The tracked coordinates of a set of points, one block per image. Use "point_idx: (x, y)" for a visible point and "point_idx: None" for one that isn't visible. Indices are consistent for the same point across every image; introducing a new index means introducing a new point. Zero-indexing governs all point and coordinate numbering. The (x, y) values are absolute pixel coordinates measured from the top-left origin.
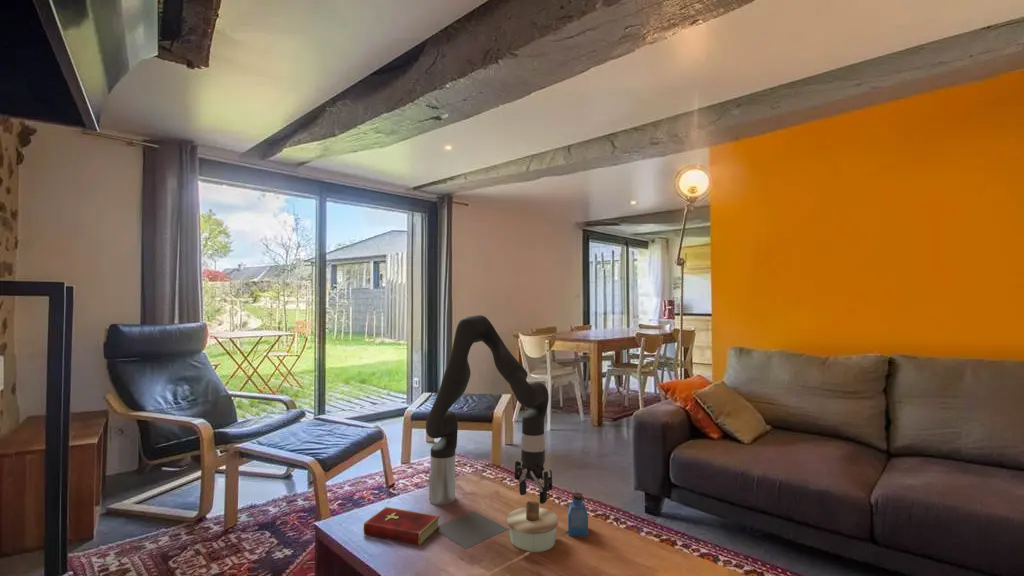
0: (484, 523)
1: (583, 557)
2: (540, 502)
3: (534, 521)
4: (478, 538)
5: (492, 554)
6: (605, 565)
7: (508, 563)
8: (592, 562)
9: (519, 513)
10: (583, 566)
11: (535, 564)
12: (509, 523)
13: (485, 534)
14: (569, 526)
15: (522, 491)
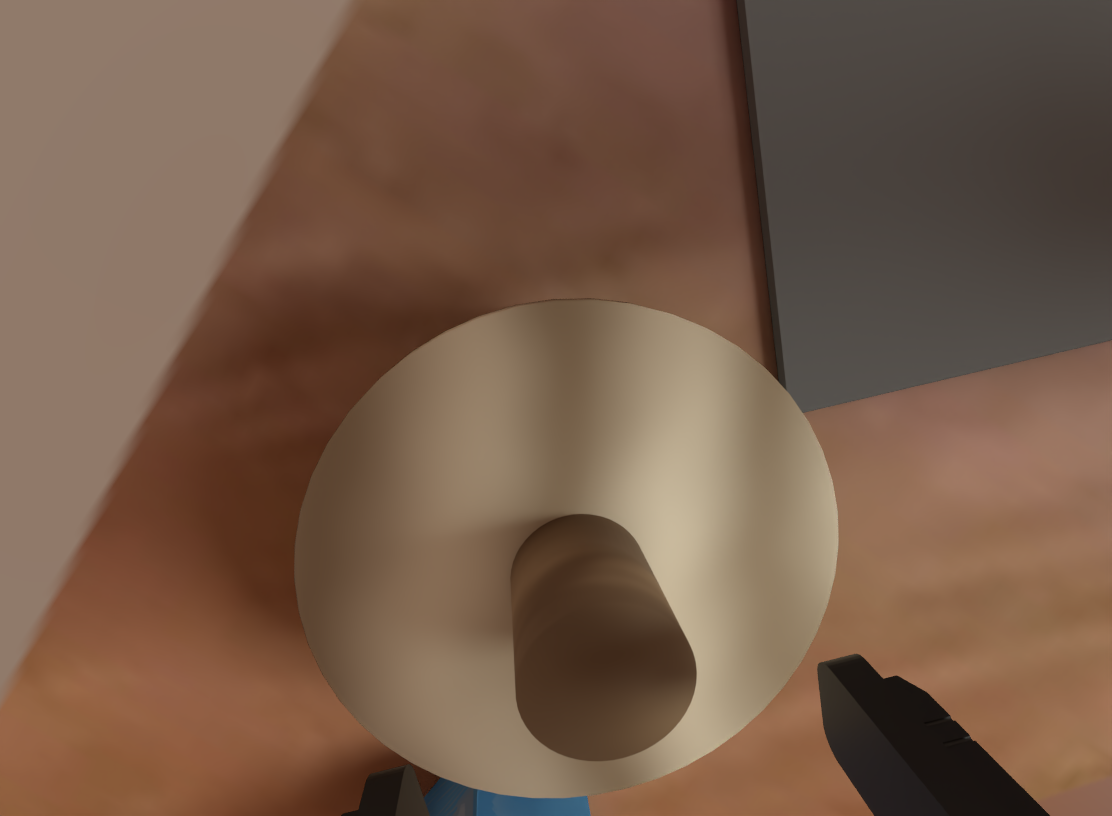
0: (980, 289)
1: (174, 665)
2: (383, 780)
3: (505, 557)
4: (811, 106)
5: (547, 95)
6: (17, 729)
7: (356, 138)
8: (88, 680)
9: (745, 515)
10: (65, 604)
11: (242, 323)
12: (620, 303)
13: (830, 199)
14: (472, 791)
15: (857, 720)
